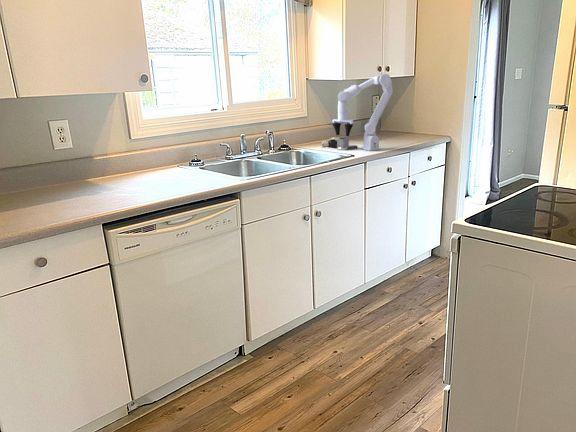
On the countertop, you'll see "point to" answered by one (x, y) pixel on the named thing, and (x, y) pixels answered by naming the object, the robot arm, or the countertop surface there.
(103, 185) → the countertop surface
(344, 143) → the hollow square tube
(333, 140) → the pneumatic valve
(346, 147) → the ratchet
